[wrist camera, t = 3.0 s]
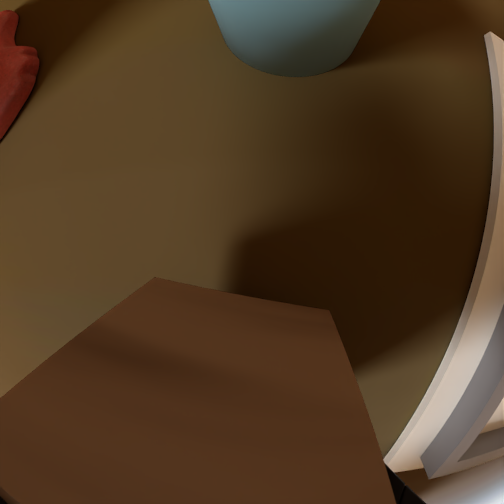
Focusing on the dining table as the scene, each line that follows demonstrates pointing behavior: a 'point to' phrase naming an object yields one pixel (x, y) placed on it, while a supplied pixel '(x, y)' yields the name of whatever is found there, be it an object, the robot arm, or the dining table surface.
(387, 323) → the dining table surface
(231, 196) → the dining table surface
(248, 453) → the walnut block
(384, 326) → the dining table surface
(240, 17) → the teal cylinder
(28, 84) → the stacking bear
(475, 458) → the tray
